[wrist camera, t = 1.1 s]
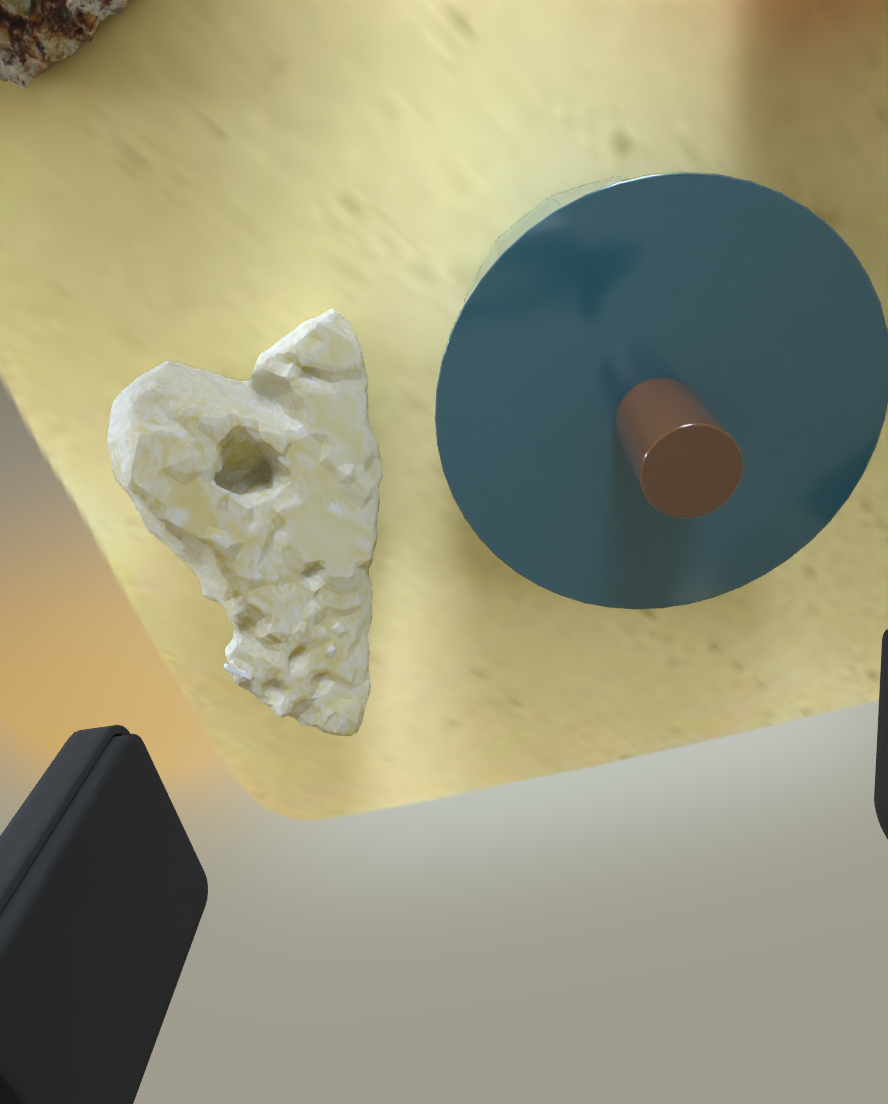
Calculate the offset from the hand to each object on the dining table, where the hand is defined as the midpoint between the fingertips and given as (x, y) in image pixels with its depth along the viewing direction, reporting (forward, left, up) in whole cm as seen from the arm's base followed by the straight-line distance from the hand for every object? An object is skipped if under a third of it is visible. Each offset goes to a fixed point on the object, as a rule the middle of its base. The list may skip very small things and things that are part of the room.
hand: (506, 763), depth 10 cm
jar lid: (-5, +2, -17) cm, 17 cm away
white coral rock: (+9, +5, -26) cm, 28 cm away
